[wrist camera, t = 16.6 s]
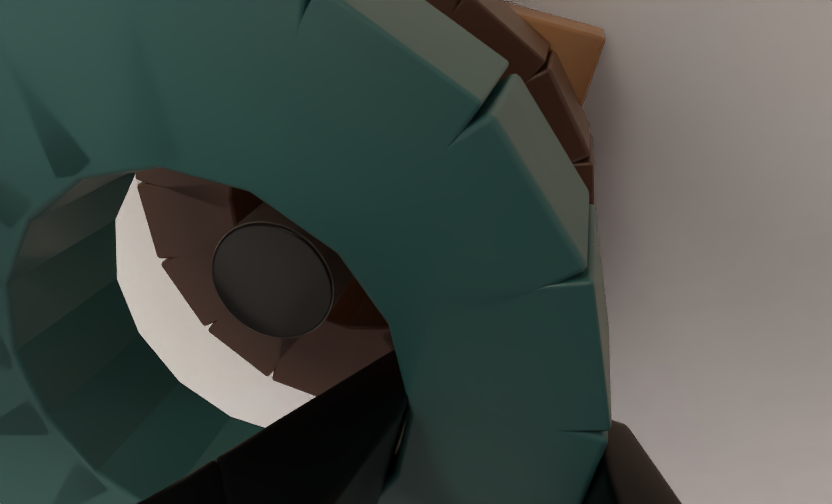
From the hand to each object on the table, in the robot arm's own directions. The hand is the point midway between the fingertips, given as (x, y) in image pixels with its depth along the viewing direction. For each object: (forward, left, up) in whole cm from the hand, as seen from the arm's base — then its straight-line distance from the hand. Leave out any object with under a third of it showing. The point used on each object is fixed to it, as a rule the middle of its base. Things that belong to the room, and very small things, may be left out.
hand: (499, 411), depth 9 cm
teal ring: (+4, 0, -1) cm, 4 cm away
